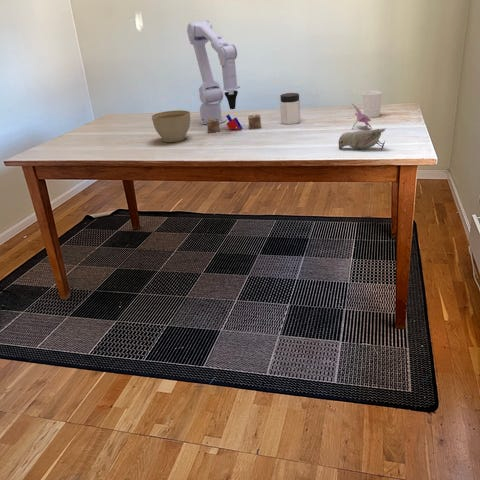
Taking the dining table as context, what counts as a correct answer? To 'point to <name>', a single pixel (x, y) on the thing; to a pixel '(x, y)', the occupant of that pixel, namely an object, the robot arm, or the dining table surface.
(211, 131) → the walnut cube seven
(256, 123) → the walnut cube one
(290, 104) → the jar
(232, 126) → the toy building block
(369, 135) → the decorative bird
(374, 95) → the white cup
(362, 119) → the lily
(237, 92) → the robot arm
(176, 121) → the planter bowl
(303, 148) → the dining table surface
